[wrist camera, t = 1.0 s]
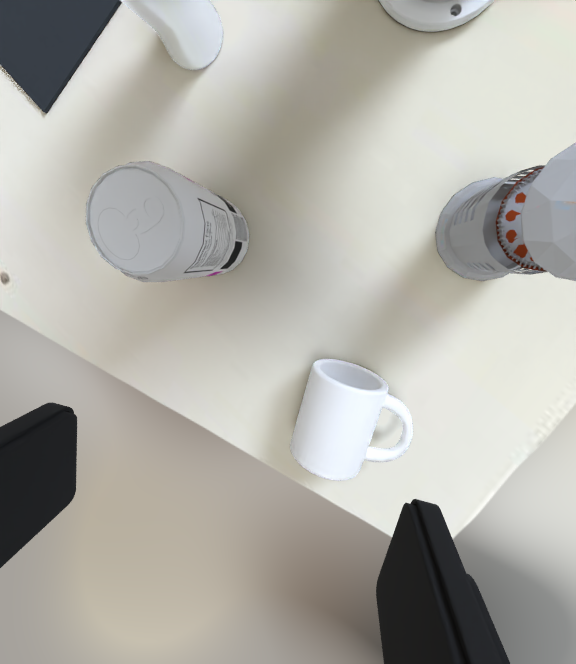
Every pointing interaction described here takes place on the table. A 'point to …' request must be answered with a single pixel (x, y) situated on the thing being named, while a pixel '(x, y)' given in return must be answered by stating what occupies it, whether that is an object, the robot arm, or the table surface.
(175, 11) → the beer glass
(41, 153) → the table surface
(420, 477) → the table surface
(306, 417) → the mug
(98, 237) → the supplement can
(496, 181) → the french press
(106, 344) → the table surface
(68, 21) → the mat
